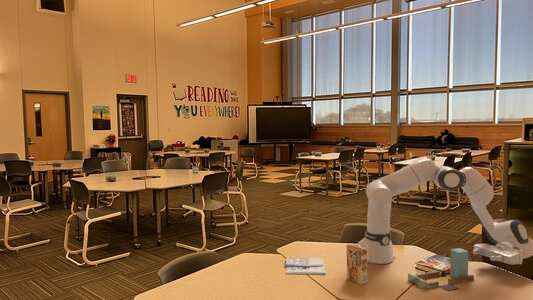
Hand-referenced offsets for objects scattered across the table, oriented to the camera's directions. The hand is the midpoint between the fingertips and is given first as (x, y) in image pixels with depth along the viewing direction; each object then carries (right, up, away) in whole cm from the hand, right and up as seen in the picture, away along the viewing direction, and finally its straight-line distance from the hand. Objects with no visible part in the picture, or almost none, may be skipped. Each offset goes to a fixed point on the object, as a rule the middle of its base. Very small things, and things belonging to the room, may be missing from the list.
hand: (482, 255), depth 185 cm
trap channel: (-23, -9, -7) cm, 26 cm away
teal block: (-12, -8, -4) cm, 16 cm away
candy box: (-58, -10, -6) cm, 59 cm away
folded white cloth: (-79, -9, +12) cm, 81 cm away
